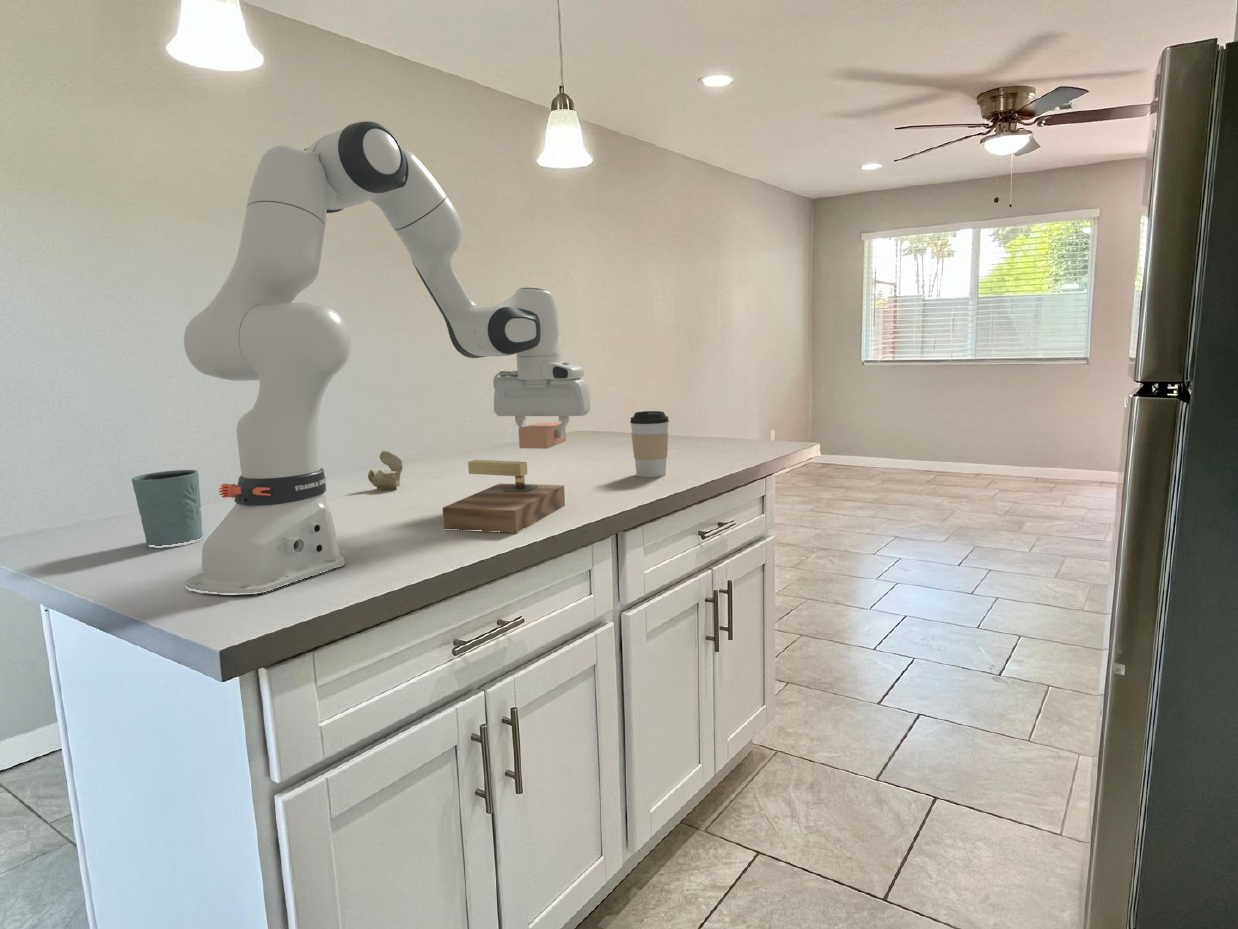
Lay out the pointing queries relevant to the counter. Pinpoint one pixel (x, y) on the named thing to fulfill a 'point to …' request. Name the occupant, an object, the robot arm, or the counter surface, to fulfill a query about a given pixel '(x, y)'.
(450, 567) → the counter surface
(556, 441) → the salmon orange block
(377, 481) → the tan squirrel figurine
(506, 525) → the base
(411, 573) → the counter surface
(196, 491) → the green embossed plant pot
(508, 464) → the yellow lever handle
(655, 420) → the coffee cup
